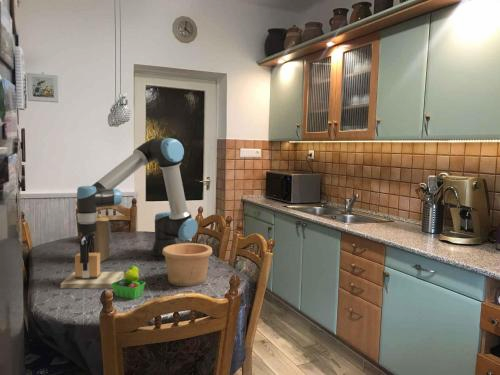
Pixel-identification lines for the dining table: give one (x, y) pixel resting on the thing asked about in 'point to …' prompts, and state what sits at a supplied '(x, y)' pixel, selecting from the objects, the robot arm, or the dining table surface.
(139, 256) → the dining table surface
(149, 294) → the dining table surface
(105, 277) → the birch board
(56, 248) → the dining table surface
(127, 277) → the fruit basket
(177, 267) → the pottery
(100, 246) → the wooden block
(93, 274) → the block
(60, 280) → the gray square block
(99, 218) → the canister
